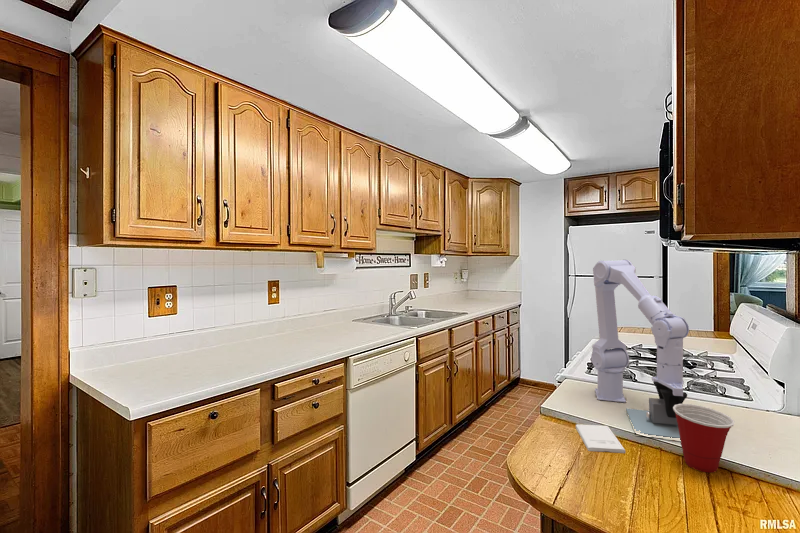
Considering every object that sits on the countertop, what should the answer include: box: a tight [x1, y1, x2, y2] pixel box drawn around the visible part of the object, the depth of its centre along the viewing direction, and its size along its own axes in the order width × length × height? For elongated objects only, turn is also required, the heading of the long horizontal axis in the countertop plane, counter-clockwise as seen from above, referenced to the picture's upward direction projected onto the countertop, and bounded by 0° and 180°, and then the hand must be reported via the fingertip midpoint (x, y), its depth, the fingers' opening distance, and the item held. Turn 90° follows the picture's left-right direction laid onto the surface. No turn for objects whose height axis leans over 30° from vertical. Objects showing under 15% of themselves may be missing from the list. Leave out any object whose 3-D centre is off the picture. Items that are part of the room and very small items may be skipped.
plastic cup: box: [673, 403, 735, 474], centre depth 88 cm, size 11×11×12 cm
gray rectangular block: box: [648, 397, 678, 425], centre depth 106 cm, size 4×7×5 cm, turn 71°
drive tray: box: [625, 407, 680, 438], centre depth 106 cm, size 16×18×4 cm
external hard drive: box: [575, 423, 626, 454], centre depth 101 cm, size 2×8×12 cm
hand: (669, 413), depth 106 cm, fingers closed on gray rectangular block, 4 cm apart
